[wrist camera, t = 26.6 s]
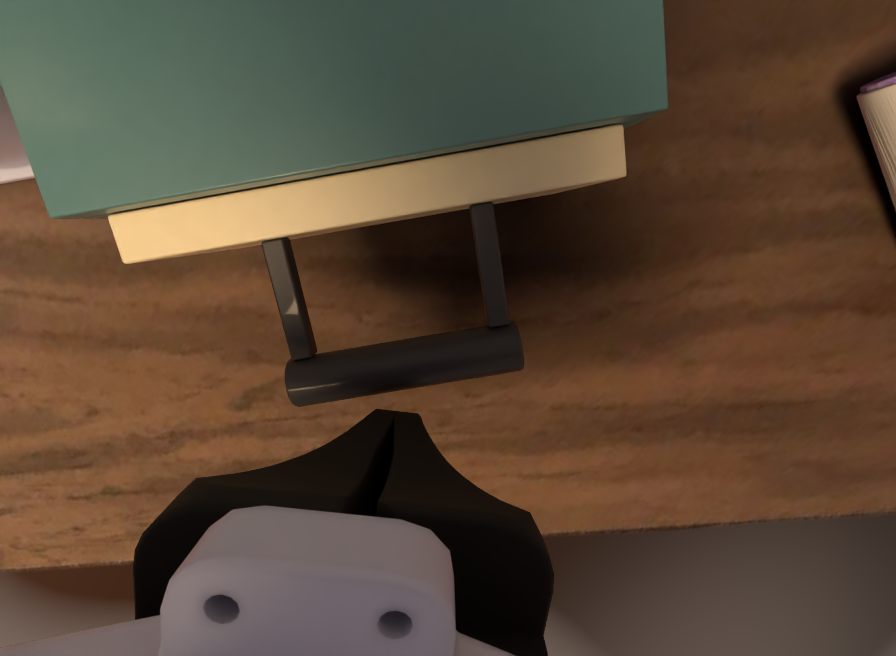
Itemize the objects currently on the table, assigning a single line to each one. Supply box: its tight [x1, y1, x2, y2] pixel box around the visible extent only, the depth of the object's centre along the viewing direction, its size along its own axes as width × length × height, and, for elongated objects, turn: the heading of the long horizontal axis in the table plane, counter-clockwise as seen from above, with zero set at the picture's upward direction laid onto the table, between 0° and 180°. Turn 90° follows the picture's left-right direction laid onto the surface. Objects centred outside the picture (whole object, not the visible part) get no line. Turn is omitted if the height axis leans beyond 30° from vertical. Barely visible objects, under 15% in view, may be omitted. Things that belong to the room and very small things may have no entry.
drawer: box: [108, 124, 626, 407], centre depth 13 cm, size 17×12×7 cm
